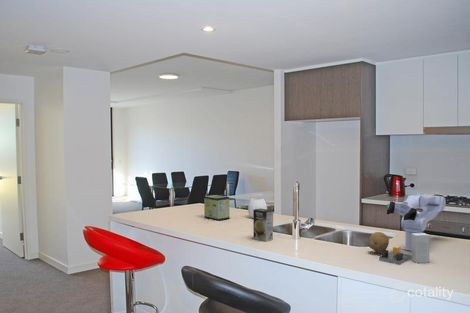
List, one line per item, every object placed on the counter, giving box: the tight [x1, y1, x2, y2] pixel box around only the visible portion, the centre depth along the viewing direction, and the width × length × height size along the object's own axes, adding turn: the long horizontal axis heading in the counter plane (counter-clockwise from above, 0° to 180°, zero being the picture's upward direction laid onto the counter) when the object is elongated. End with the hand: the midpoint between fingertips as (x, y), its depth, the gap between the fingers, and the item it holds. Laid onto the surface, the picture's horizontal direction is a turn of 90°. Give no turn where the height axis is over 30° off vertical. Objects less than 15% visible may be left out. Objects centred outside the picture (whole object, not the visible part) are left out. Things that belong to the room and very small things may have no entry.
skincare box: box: [411, 232, 430, 264], centre depth 174 cm, size 6×4×12 cm
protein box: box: [203, 194, 231, 222], centre depth 279 cm, size 10×16×16 cm
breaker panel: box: [378, 249, 412, 265], centre depth 178 cm, size 13×9×4 cm
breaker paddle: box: [392, 245, 401, 256], centre depth 178 cm, size 3×2×4 cm, turn 135°
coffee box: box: [252, 208, 274, 243], centre depth 217 cm, size 9×6×16 cm
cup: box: [247, 197, 268, 219], centre depth 280 cm, size 13×13×14 cm
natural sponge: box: [367, 231, 390, 255], centre depth 187 cm, size 9×9×10 cm
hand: (396, 215), depth 179 cm, fingers open, 7 cm apart
